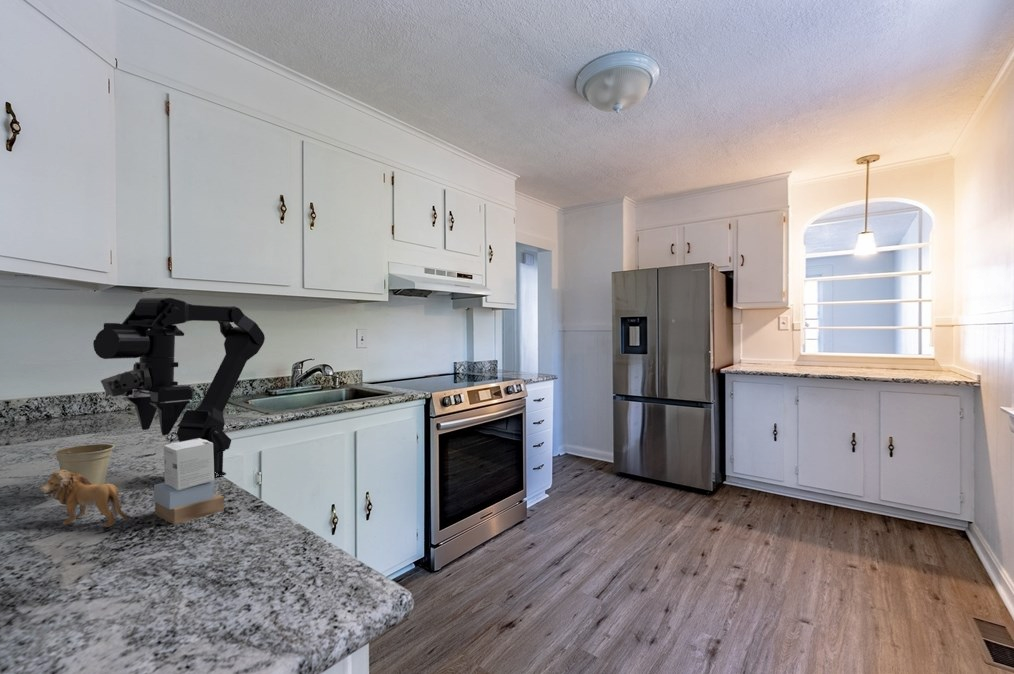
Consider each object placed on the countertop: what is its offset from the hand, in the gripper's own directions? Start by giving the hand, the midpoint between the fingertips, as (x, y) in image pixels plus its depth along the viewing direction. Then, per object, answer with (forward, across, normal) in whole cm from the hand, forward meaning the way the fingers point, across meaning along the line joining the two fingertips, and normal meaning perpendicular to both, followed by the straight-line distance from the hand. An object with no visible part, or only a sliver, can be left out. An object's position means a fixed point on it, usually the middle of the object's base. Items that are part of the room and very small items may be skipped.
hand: (155, 432), depth 91 cm
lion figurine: (+13, +7, -13) cm, 20 cm away
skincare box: (+7, +18, -1) cm, 19 cm away
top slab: (+10, +17, -2) cm, 20 cm away
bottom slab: (+13, +17, -1) cm, 22 cm away
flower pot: (+13, -16, -7) cm, 21 cm away
